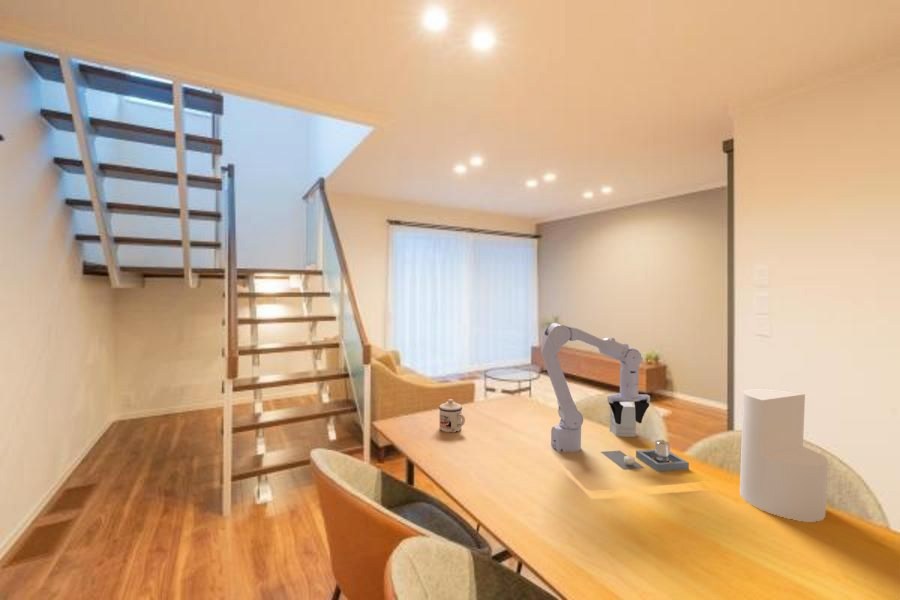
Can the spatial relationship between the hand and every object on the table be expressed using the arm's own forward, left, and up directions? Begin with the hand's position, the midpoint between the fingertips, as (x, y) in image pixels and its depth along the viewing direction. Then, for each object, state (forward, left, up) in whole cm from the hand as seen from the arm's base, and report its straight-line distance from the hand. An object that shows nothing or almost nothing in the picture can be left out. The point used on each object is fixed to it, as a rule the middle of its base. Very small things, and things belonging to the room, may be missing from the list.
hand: (628, 422), depth 135 cm
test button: (-7, -12, -9) cm, 16 cm away
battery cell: (+4, -12, -10) cm, 15 cm away
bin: (+4, -12, -10) cm, 16 cm away
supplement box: (+7, +14, -11) cm, 19 cm away
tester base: (-7, -8, -10) cm, 15 cm away
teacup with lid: (-55, +30, -11) cm, 64 cm away
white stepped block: (+21, -35, -11) cm, 42 cm away
